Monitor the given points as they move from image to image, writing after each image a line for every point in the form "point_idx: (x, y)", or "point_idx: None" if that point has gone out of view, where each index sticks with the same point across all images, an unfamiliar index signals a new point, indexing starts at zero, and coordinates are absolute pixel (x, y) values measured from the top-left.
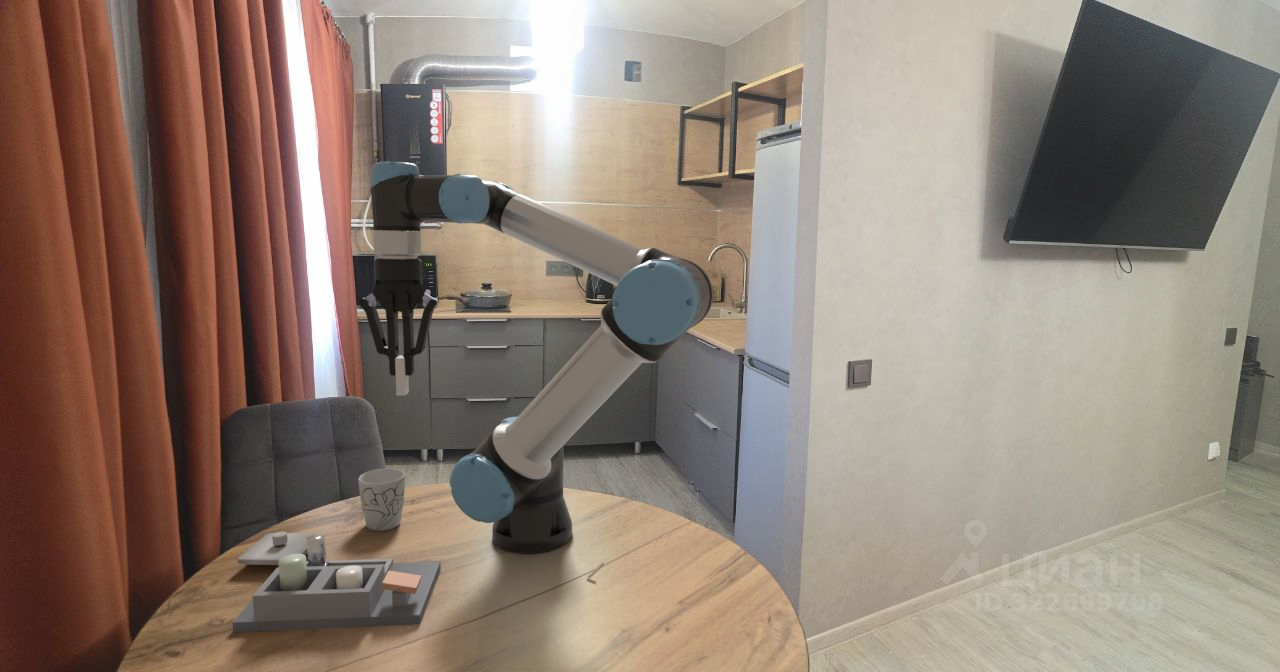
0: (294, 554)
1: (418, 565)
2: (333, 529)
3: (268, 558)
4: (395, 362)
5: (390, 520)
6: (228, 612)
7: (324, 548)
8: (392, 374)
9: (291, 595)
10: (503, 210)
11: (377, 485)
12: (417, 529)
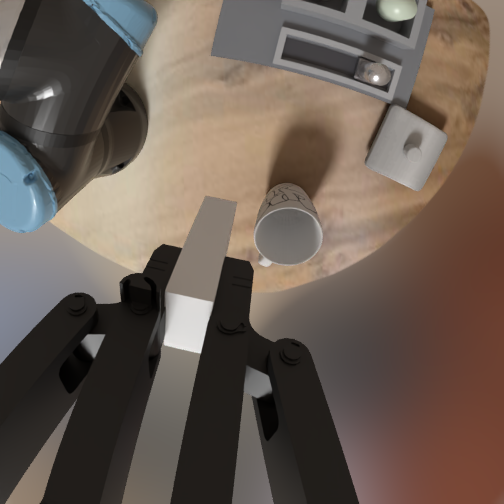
0: (401, 17)
1: (239, 51)
2: (346, 206)
3: (420, 120)
4: (215, 285)
5: (277, 187)
6: (440, 50)
7: (364, 69)
8: (242, 263)
9: None
10: None
11: (295, 206)
12: (243, 174)
